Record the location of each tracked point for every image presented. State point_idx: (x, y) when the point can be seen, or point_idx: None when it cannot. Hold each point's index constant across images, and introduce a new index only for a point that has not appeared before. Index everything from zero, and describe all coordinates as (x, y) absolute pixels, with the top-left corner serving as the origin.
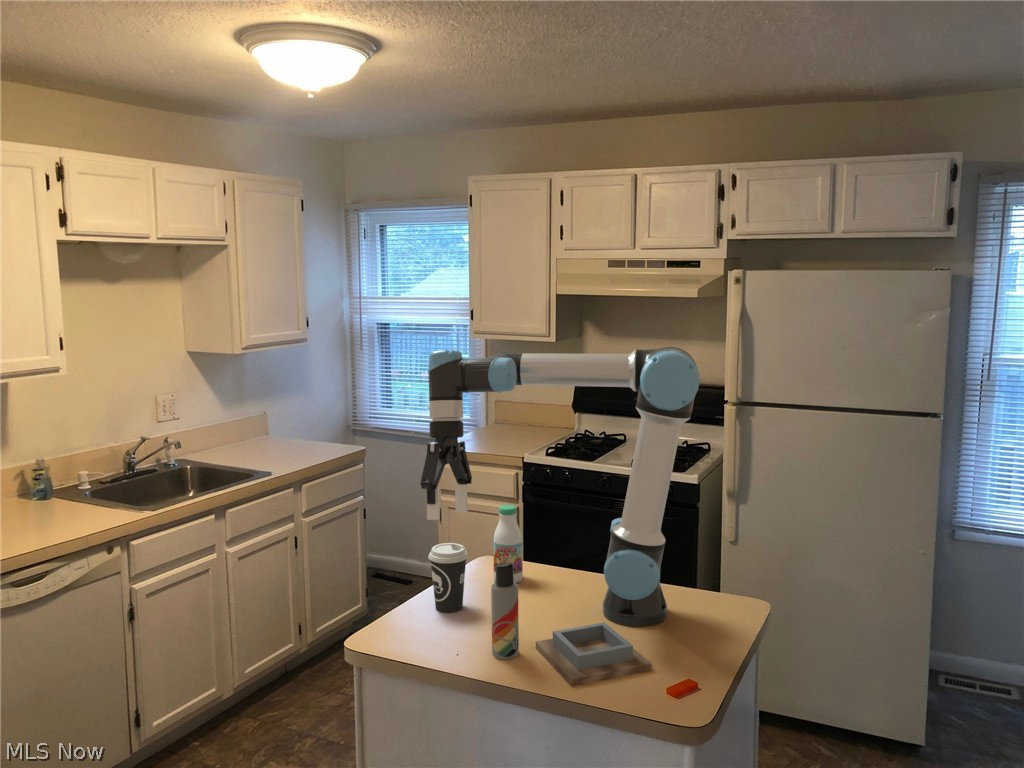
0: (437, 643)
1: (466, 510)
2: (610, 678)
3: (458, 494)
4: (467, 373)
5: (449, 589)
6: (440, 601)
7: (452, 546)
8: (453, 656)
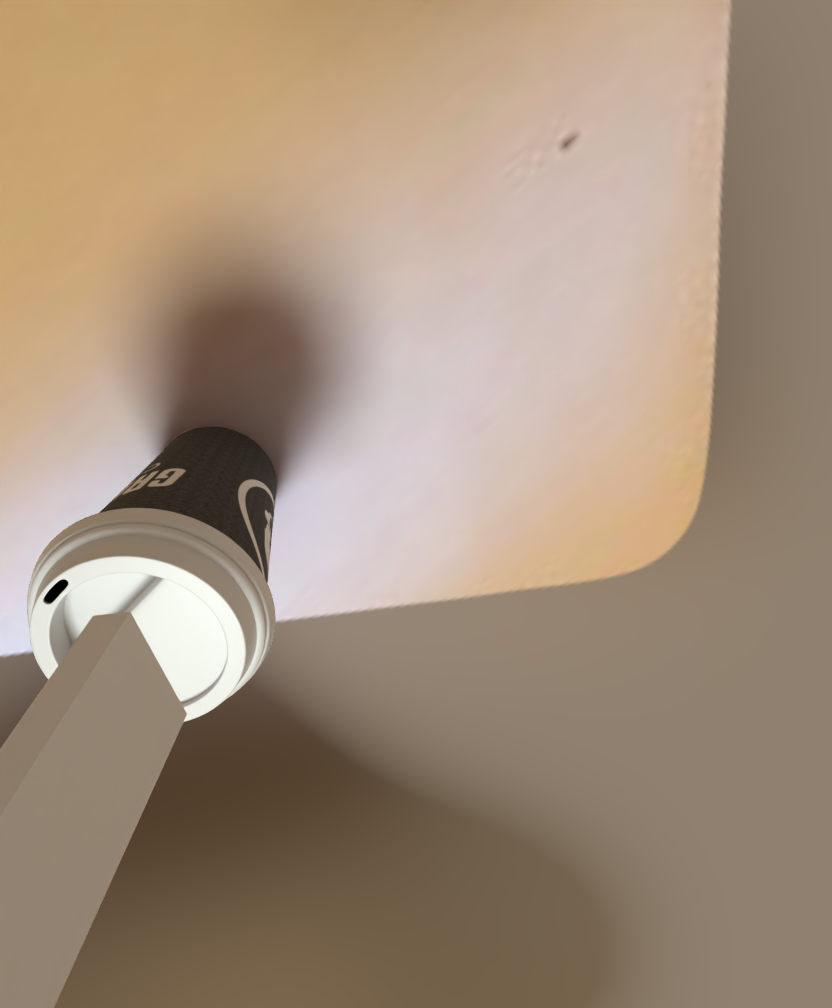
0: (522, 294)
1: (104, 637)
2: None
3: (58, 908)
4: None
5: (246, 485)
6: (272, 498)
7: None
8: (593, 145)
